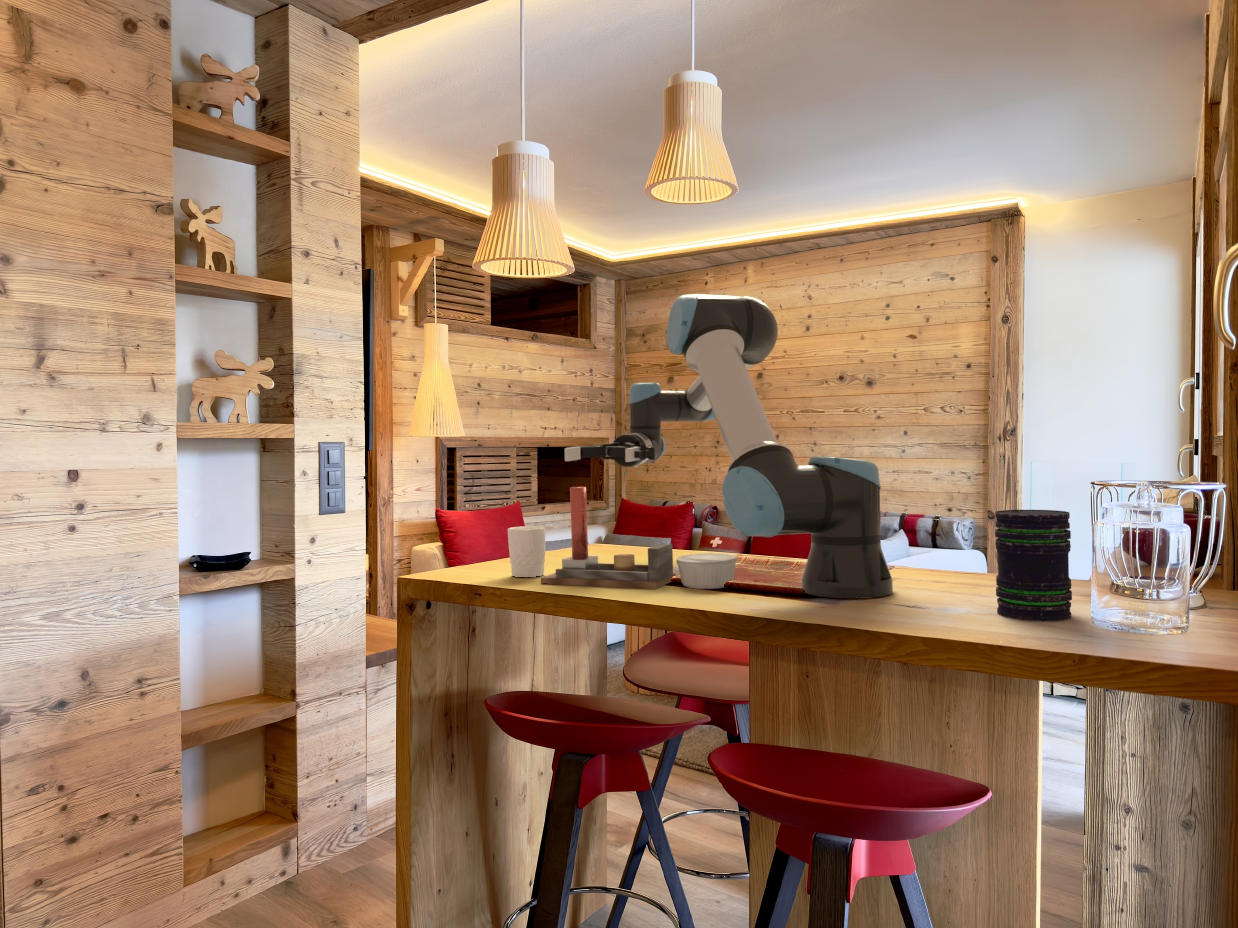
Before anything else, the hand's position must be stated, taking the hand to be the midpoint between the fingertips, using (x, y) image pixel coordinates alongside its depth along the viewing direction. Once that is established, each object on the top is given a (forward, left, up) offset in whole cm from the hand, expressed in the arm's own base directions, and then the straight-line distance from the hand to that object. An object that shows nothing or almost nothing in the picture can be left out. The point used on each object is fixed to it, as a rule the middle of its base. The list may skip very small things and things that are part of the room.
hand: (596, 455), depth 166 cm
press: (-10, -1, -25) cm, 27 cm away
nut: (-11, -4, -23) cm, 26 cm away
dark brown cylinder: (-55, -60, -25) cm, 85 cm away
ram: (-7, +4, -23) cm, 25 cm away
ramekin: (-18, -19, -25) cm, 36 cm away
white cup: (+2, +15, -25) cm, 29 cm away
